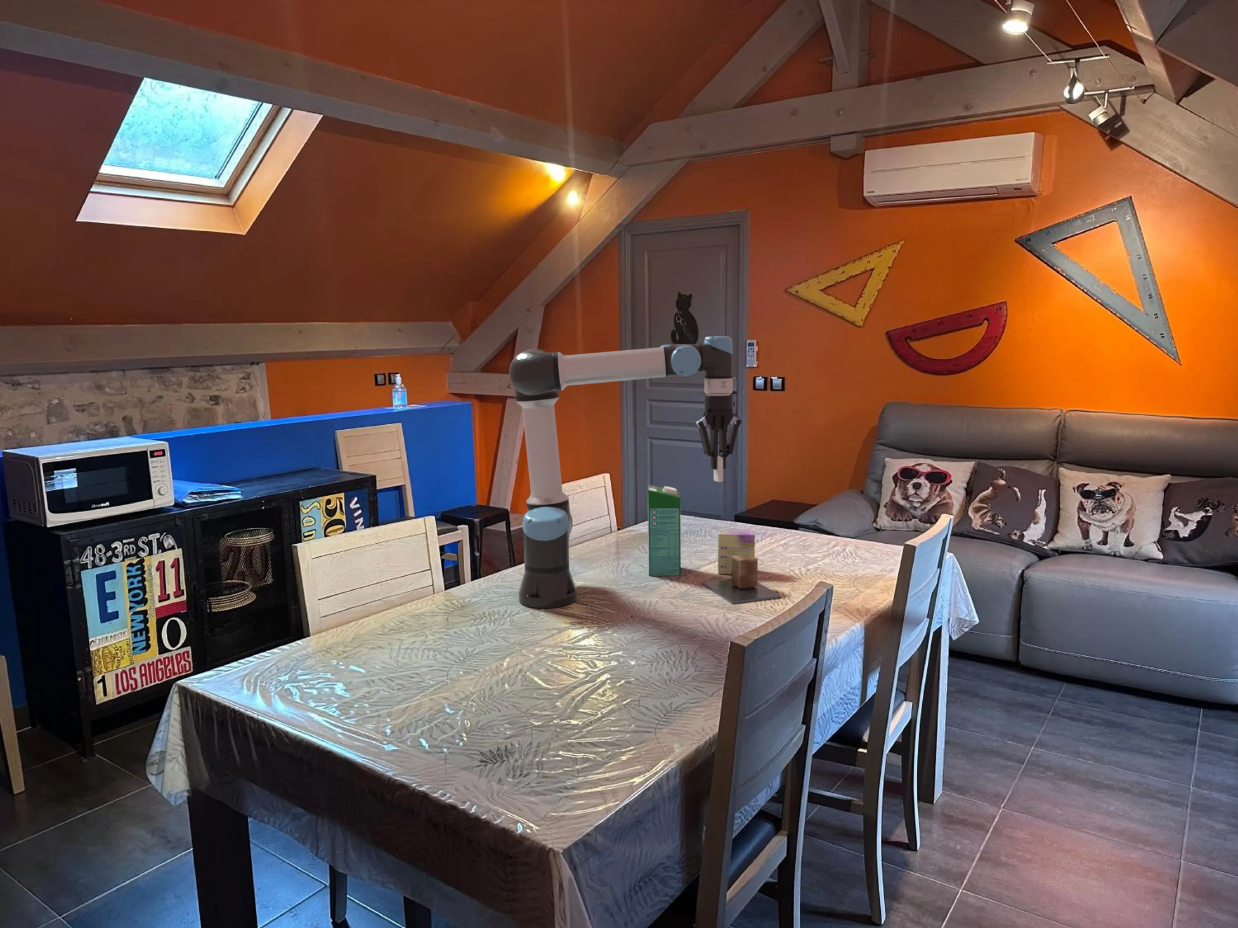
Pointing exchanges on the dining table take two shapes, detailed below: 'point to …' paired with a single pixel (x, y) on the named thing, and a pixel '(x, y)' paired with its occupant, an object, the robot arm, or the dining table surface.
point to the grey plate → (740, 592)
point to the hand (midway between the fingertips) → (718, 480)
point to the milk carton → (664, 531)
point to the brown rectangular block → (744, 570)
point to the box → (733, 547)
